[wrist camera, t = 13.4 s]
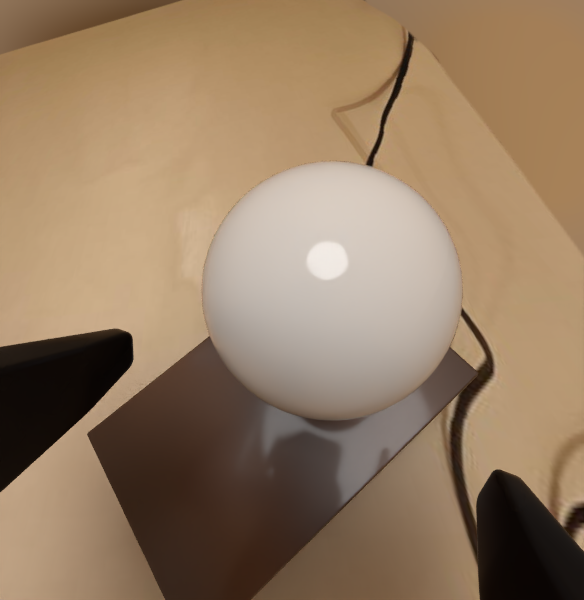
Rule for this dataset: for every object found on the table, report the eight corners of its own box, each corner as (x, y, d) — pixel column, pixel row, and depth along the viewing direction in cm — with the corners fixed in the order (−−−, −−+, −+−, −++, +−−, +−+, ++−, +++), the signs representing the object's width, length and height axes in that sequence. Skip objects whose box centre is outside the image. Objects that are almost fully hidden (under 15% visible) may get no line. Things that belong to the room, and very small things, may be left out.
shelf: (231, 597, 16) (191, 658, 12) (141, 434, 20) (85, 433, 16) (445, 388, 19) (480, 373, 15) (331, 278, 23) (330, 239, 18)
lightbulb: (308, 279, 17) (277, 63, 7) (420, 338, 16) (580, 154, 5) (239, 380, 16) (76, 275, 6) (355, 460, 14) (416, 517, 4)
